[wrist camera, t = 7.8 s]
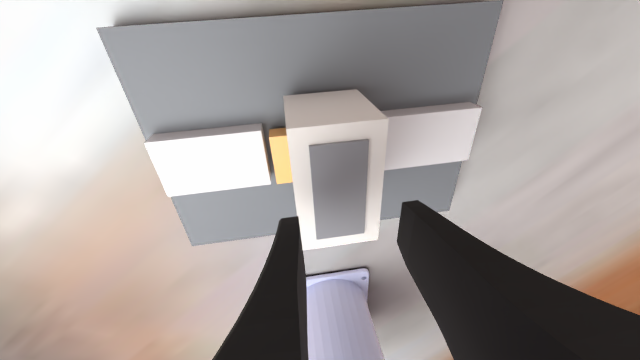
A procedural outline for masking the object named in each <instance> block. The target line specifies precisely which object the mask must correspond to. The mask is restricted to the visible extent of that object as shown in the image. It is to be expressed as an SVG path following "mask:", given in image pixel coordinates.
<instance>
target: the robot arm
mask: <svg viewBox="0 0 640 360" xmlns="http://www.w3.org/2000/svg"><path fill="white" fill-rule="evenodd" d="M397 243H398V246H399V249H400V251H401V254H402V257H403V259H404V261H405V264H406V266H407V268H408V270H409V272H410V274H411V276H412V278H413V279H414V281H415V283H416V285H417V287H418V289H419V290H420V292H421V294H422V296H423V298H424V300H425V301H426V303H427V305H428V307H429V309H430V311H431V312H432V314H433V316H434V318H435V320H436V322H437V324H438V326H439V328H440V330H441V332H442V334H443V336H444V338H445V340H446V343H447V345H448V347H449V349H450V352H451V354H452V356H453V359H454V360H640V315H637V314H635V313H632V312H629V311H627V310H624V309H621V308H619V307H616V306H614V305H611V304H609V303H606V302H604V301H602V300H599V299H597V298H594V297H592V296H589V295H587V294H585V293H583V292H580V291H578V290H576V289H574V288H571V287H569V286H567V285H565V284H562V283H560V282H558V281H556V280H554V279H551V278H549V277H547V276H545V275H543V274H541V273H539V272H537V271H535V270H533V269H531V268H529V267H527V266H525V265H523V264H521V263H519V262H517V261H515V260H514V259H512V258H510V257H508V256H506V255H504V254H503V253H501V252H499V251H497V250H496V249H494V248H492V247H491V246H489V245H487V244H485V243H484V242H482V241H480V240H479V239H477V238H476V237H474V236H472V235H471V234H469V233H468V232H466V231H464V230H463V229H461V228H460V227H458V226H457V225H455V224H454V223H452V222H451V221H449V220H448V219H446V218H445V217H443V216H442V215H440V214H439V213H437V212H436V211H434V210H433V209H431V208H430V207H428V206H427V205H425V204H423V203H422V202H420V201H419V200H414V201H407V202H402V207H401V215H400V222H399V229H398V237H397ZM368 283H369V272H368V269H366V268H362V269H355V270H349V271H343V272H336V273H330V274H323V275H317V276H310V277H306V274H305V265H304V256H303V249H302V241H301V233H300V226H299V218H298V216H295V217H287V218H281V219H280V220H279V223H278V228H277V232H276V235H275V239H274V242H273V245H272V248H271V250H270V253H269V255H268V258H267V260H266V263H265V265H264V268H263V270H262V272H261V274H260V277H259V279H258V281H257V283H256V285H255V287H254V289H253V291H252V293H251V295H250V297H249V299H248V301H247V303H246V305H245V307H244V309H243V310H242V312H241V314H240V316H239V317H238V319H237V321H236V323H235V324H234V326H233V328H232V329H231V331H230V333H229V334H228V336H227V337H226V339H225V341H224V342H223V344H222V346H221V347H220V349H219V350H218V352H217V353H216V355H215V356H214V358H213V359H212V360H385V359H384V356H383V353H382V350H381V347H380V343H379V340H378V337H377V334H376V331H375V327H374V324H373V321H372V318H371V315H370V312H369V308H368V305H367V298H368Z"/></svg>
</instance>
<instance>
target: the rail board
mask: <svg viewBox="0 0 640 360" xmlns="http://www.w3.org/2000/svg"><path fill="white" fill-rule="evenodd" d="M502 4H503V0H500V1H485V2H470V3H455V4H440V5H426V6H411V7H396V8H381V9H366V10H351V11H337V12H322V13H307V14H292V15H277V16H263V17H248V18H233V19H218V20H203V21H189V22H174V23H159V24H144V25H129V26H114V27H100V28H97V31H98V33H99V35H100V37H101V40H102V42H103V44H104V47H105V49H106V51H107V53H108V56H109V58H110V60H111V62H112V65H113V67H114V69H115V72H116V74H117V76H118V78H119V81H120V83H121V85H122V88H123V90H124V92H125V94H126V97H127V99H128V101H129V103H130V106H131V108H132V110H133V113H134V115H135V117H136V119H137V122H138V124H139V126H140V128H141V131H142V133H143V135H144V138H145V140H146V141H145V142H144V144H145V147H146V149H147V151H148V153H149V156H150V158H151V160H152V162H153V165H154V167H155V169H156V171H157V174H158V176H159V178H160V180H161V183H162V185H163V187H164V189H165V191H166V194H167V196H168V197H171V199H172V201H173V204H174V206H175V208H176V210H177V213H178V215H179V217H180V220H181V222H182V224H183V226H184V229H185V231H186V233H187V235H188V238H189V240H190V242H191V245H192V246H197V245H204V244H211V243H219V242H226V241H233V240H240V239H247V238H255V237H262V236H269V235H276V232H277V228H278V223H279V220H280V219H281V218H287V217H295V216H297V211H296V204H295V196H294V188H293V182H291V183H282V184H277V182H276V176H275V170H274V164H273V159H272V153H271V147H270V141H269V129H278V128H286V123H285V111H284V100H283V96H286V95H297V94H309V93H320V92H331V91H342V90H353V89H357V90H358V91H359V92H360V93H361V94H362V95H364V96H365V97H366V98H367V99H368V100H369V101H370V102H371V103H372V104H373V105H374V106H376V107H377V108H378V109H379V110H380V111H381V112H382V113H383V114H384V115H385V116H386V117H387V118H389V122H388V133H387V145H386V156H385V167H384V179H383V190H382V201H381V213H380V220H384V219H391V218H399V217H400V215H401V207H402V202H407V201H414V200H419V201H420V202H422V203H423V204H425V205H427V206H428V207H430V208H431V209H433V210H434V211H436V212H442V211H449V209H450V205H451V201H452V198H453V194H454V190H455V186H456V182H457V178H458V174H459V170H460V167H461V163H462V161H466V160H468V159H469V155H470V151H471V148H472V144H473V140H474V137H475V133H476V129H477V126H478V122H479V118H480V114H481V111H482V107H480V106H478V105H476V104H477V101H478V97H479V93H480V89H481V85H482V81H483V77H484V73H485V70H486V66H487V62H488V58H489V54H490V50H491V46H492V42H493V39H494V35H495V31H496V27H497V23H498V19H499V15H500V11H501V8H502Z"/></svg>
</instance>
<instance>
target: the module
mask: <svg viewBox="0 0 640 360" xmlns="http://www.w3.org/2000/svg"><path fill="white" fill-rule="evenodd" d="M283 100H284V111H285V123H286V133H287V141H288V149H289V156H290V164H291V172H292V180H293V188H294V196H295V204H296V211H297V216H298V218H299V226H300V233H301V241H302V249H303V250H310V249H317V248H324V247H331V246H338V245H345V244H352V243H359V242H366V241H373V240H378V236H379V224H380V213H381V201H382V190H383V179H384V167H385V156H386V145H387V133H388V122H389V118H387V117H386V116H385V115H384V114H383V113H382V112H381V111H380V110H379V109H378V108H377V107H376V106H374V105H373V104H372V103H371V102H370V101H369V100H368V99H367V98H366V97H365V96H364V95H362V94H361V93H360V92H359V91H358V90H357V89H353V90H342V91H331V92H320V93H309V94H297V95H286V96H283Z"/></svg>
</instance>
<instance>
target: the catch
mask: <svg viewBox="0 0 640 360" xmlns="http://www.w3.org/2000/svg"><path fill="white" fill-rule="evenodd" d="M269 141H270V147H271V153H272V159H273V164H274V170H275V176H276V182H277V184H282V183H291V182H293V180H292V172H291V164H290V156H289V149H288V141H287V133H286V128H278V129H269Z"/></svg>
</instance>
